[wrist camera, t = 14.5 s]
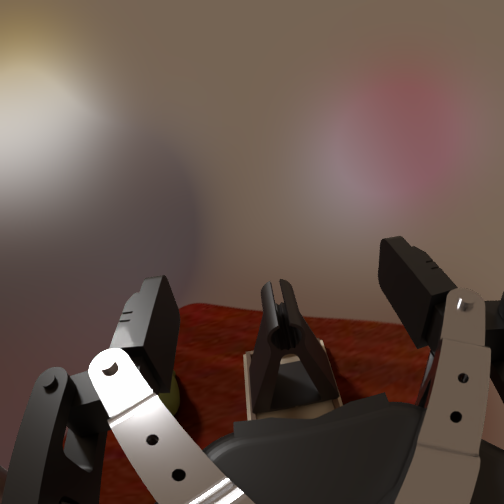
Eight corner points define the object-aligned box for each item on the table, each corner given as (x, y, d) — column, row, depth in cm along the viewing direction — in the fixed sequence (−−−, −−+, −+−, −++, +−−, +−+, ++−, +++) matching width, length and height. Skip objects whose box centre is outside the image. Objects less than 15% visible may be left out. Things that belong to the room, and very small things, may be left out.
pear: (123, 403, 28) (128, 352, 37) (144, 433, 30) (144, 381, 39) (171, 391, 29) (167, 340, 38) (189, 422, 30) (181, 371, 40)
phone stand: (327, 356, 34) (324, 270, 28) (339, 398, 28) (342, 312, 23) (249, 371, 34) (225, 288, 28) (252, 414, 29) (224, 334, 23)
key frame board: (251, 450, 27) (247, 442, 26) (244, 359, 38) (241, 349, 37) (349, 431, 27) (350, 423, 26) (322, 345, 38) (322, 334, 37)
